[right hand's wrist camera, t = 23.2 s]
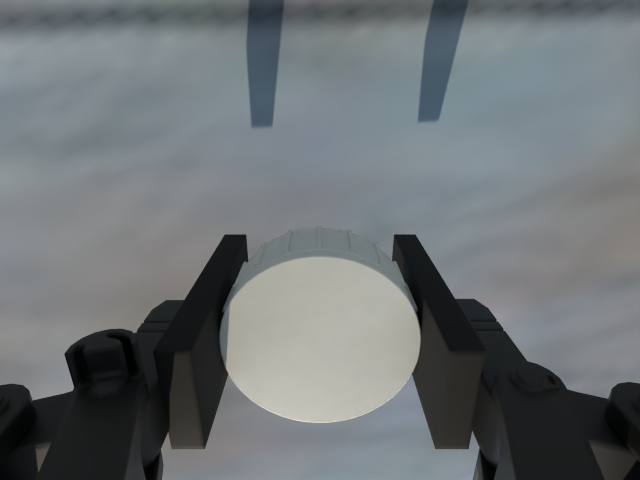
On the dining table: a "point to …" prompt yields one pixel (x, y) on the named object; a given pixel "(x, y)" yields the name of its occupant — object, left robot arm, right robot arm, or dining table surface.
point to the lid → (320, 327)
